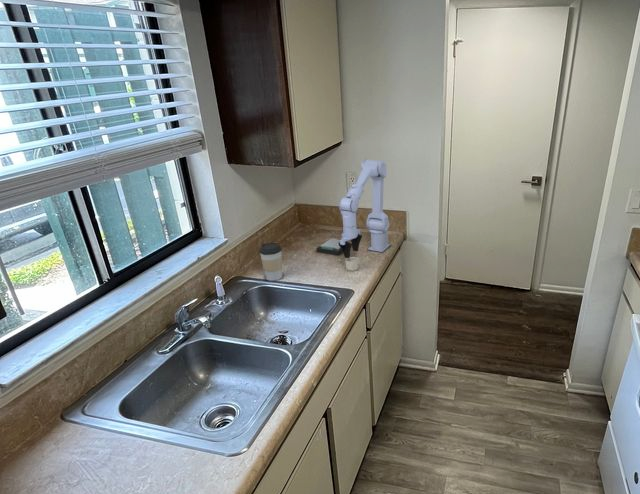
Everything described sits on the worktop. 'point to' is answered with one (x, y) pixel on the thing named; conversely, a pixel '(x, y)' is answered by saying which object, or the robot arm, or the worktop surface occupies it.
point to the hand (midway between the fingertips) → (351, 254)
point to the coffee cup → (271, 260)
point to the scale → (331, 247)
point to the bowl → (351, 263)
